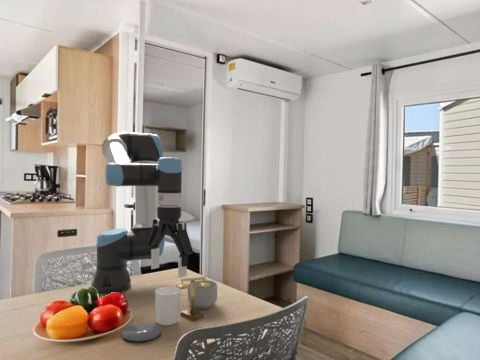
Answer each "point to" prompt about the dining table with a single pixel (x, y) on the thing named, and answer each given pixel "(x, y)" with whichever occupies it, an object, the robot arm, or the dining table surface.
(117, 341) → the dining table surface
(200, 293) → the teacup
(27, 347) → the dining table surface
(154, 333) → the dish
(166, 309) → the white cup
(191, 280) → the balance
